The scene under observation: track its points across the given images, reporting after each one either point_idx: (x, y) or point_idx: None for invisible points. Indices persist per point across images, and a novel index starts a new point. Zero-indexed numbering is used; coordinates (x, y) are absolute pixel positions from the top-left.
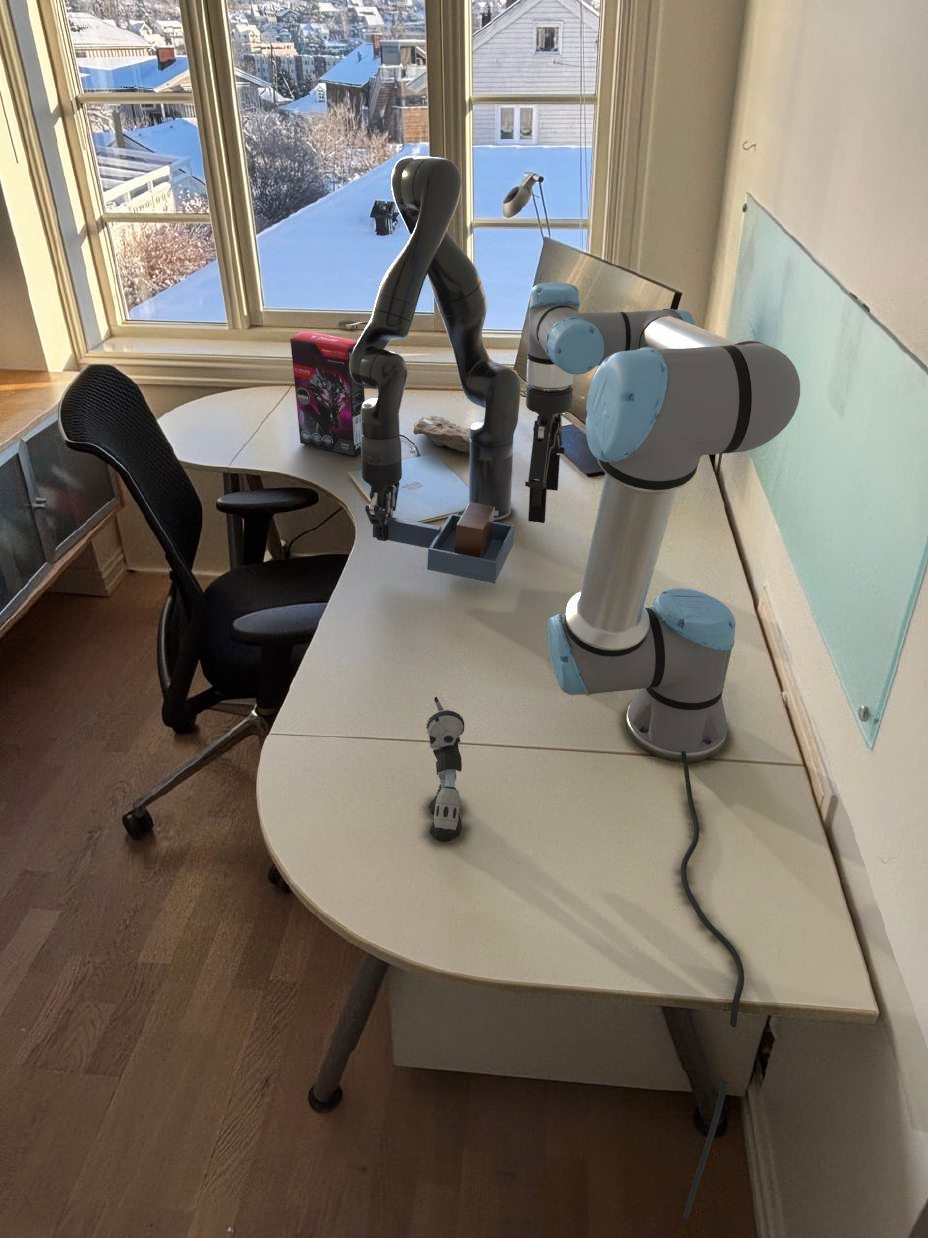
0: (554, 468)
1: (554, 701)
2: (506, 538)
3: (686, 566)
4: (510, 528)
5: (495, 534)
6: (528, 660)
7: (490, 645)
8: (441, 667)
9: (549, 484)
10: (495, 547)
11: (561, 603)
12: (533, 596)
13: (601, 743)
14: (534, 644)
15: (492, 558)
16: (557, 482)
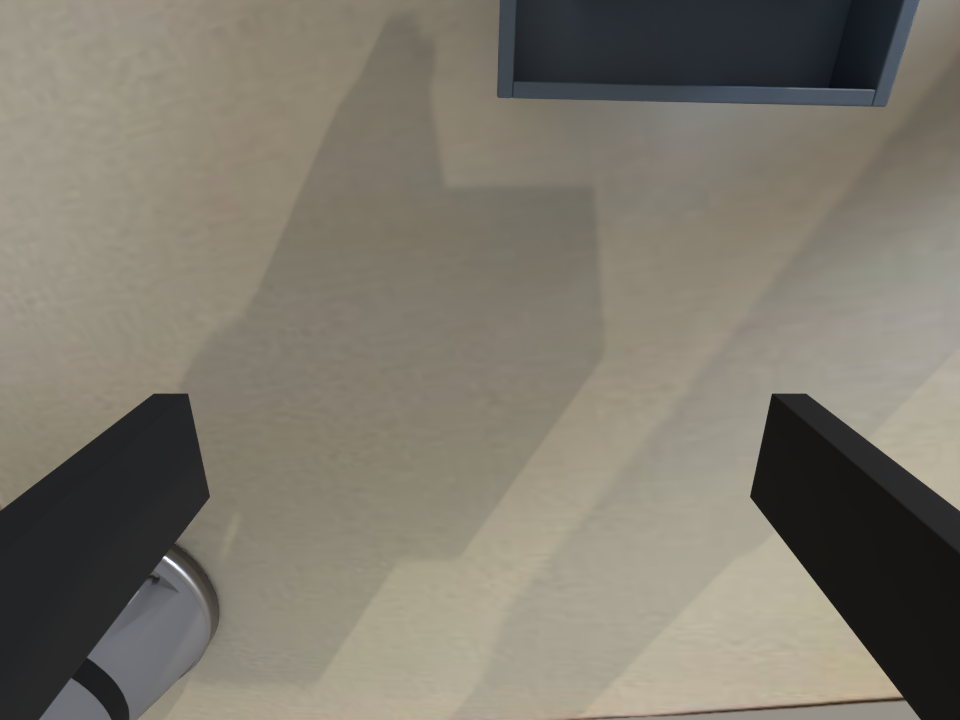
0: (875, 611)
1: (85, 370)
2: (744, 91)
3: (787, 604)
4: (869, 85)
5: (864, 6)
6: (217, 279)
7: (241, 151)
8: (60, 13)
9: (784, 467)
10: (767, 32)
11: (534, 324)
12: (556, 233)
13: (6, 478)
14: (298, 282)
15: (663, 42)
16: (783, 539)
